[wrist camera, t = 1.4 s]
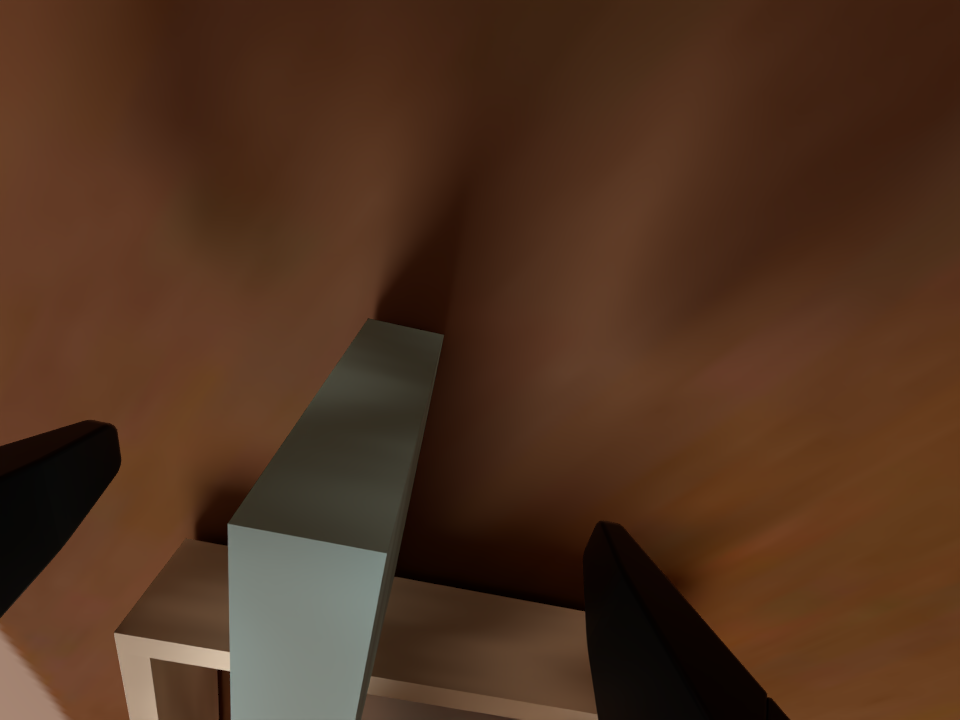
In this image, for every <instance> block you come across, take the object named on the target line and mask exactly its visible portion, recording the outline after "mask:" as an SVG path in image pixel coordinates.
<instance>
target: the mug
mask: <svg viewBox="0 0 960 720" xmlns="http://www.w3.org/2000/svg"><path fill="white" fill-rule="evenodd" d="M361 720H521V719H515V718H509V717H503V716H497V715H491V714H485V713H479V712H473V711H467V710H461V709H455V708H449V707H443V706H436V705H430V704H424V703H418V702H412V701H406V700H400V699H394V698H388V697H382V696H376V695H370V694H367V696H366V700H365V705H364V709H363V713H362V718H361Z"/></svg>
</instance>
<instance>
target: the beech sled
mask: <svg viewBox="0 0 960 720" xmlns="http://www.w3.org/2000/svg"><path fill="white" fill-rule="evenodd" d="M443 338H444V335H442V334H437V333H433V332H428V331H423V330H419V329H414V328H410V327H405V326H401V325H396V324H391V323H387V322H382V321H378V320H373V319H369V318H368V320H367V321H366V323H365V324H364V326H363V327H362V328H361V330H360V331H359V333H358V334H357V336H356V337H355V339H354V340H353V342H352V343H351V345H350V346H349V347H348V349H347V350H346V352H345V353H344V355H343V356H342V358H341V359H340V361H339V362H338V363H337V365H336V366H335V368H334V369H333V371H332V372H331V374H330V375H329V377H328V378H327V380H326V381H325V382H324V384H323V385H322V387H321V388H320V390H319V391H318V393H317V394H316V396H315V397H314V398H313V400H312V401H311V403H310V404H309V406H308V407H307V409H306V410H305V412H304V413H303V415H302V416H301V417H300V419H299V420H298V422H297V423H296V425H295V426H294V428H293V429H292V431H291V432H290V433H289V435H288V436H287V438H286V439H285V441H284V442H283V444H282V445H281V447H280V448H279V450H278V451H277V452H276V454H275V455H274V457H273V458H272V460H271V461H270V463H269V464H268V466H267V467H266V468H265V470H264V471H263V473H262V474H261V476H260V477H259V479H258V480H257V482H256V483H255V485H254V486H253V487H252V489H251V490H250V492H249V493H248V495H247V496H246V498H245V499H244V501H243V502H242V503H241V505H240V506H239V508H238V509H237V511H236V512H235V514H234V515H233V517H232V518H231V520H230V521H229V522H228V546H225V545H219V544H214V543H208V542H203V541H197V540H192V539H185V540H184V541H183V543H182V544H181V545H180V547H179V548H178V549H177V551H176V552H175V553H174V555H173V556H172V557H171V558H170V560H169V561H168V562H167V564H166V565H165V566H164V568H163V569H162V570H161V572H160V573H159V574H158V576H157V577H156V578H155V579H154V581H153V582H152V583H151V585H150V586H149V587H148V589H147V590H146V591H145V593H144V594H143V595H142V596H141V598H140V599H139V600H138V602H137V603H136V604H135V606H134V607H133V608H132V610H131V611H130V612H129V614H128V615H127V616H126V617H125V619H124V620H123V621H122V623H121V624H120V625H119V627H118V628H117V629H116V631H115V632H114V636H115V642H116V647H117V652H118V658H119V663H120V669H121V674H122V679H123V685H124V690H125V696H126V701H127V706H128V712H129V717H130V720H219V706H218V678H217V669H220V670H226V671H230V695H231V720H361V718H362V713H363V709H364V705H365V700H366V696H367V694H370V695H376V696H382V697H388V698H394V699H400V700H406V701H412V702H418V703H424V704H430V705H436V706H443V707H449V708H455V709H461V710H467V711H473V712H479V713H485V714H491V715H497V716H503V717H509V718H515V719H521V720H598V716H597V709H596V703H595V696H594V689H593V683H592V676H591V669H590V663H589V656H588V648H587V638H586V620H585V611H579V610H574V609H568V608H563V607H557V606H552V605H546V604H541V603H536V602H530V601H525V600H519V599H514V598H508V597H503V596H497V595H492V594H486V593H481V592H476V591H470V590H465V589H459V588H454V587H448V586H443V585H437V584H432V583H426V582H421V581H416V580H410V579H405V578H399V577H394V575H395V570H396V566H397V561H398V556H399V551H400V546H401V541H402V537H403V532H404V527H405V522H406V517H407V512H408V508H409V503H410V498H411V493H412V488H413V483H414V478H415V474H416V469H417V464H418V459H419V454H420V449H421V445H422V440H423V435H424V430H425V425H426V420H427V416H428V411H429V406H430V401H431V396H432V391H433V387H434V382H435V377H436V372H437V367H438V362H439V358H440V353H441V348H442V343H443Z"/></svg>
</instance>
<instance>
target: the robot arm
mask: <svg viewBox="0 0 960 720" xmlns="http://www.w3.org/2000/svg"><path fill="white" fill-rule="evenodd" d="M120 465H121V454H120V447H119V439H118V432H117V429H116V427H115V426H114V425H112V424H110V423H105V422H100V421H95V420H86V421H82V422H79V423H75V424H72V425H69V426H66V427H62V428H59V429H56V430H52V431H49V432H46V433H42V434H39V435H36V436H33V437H29V438H26V439H23V440H19V441H16V442H13V443H10V444H6V445H3V446H0V618H1V617H2V616H3V615H4V613H5V612H6V611H7V610H8V609H9V608H10V607H11V606H12V604H13V603H14V602H15V601H16V600H17V599H18V598H19V597H20V595H21V594H22V593H23V592H24V591H25V590H26V589H27V588H28V586H29V585H30V584H31V583H32V582H33V581H34V580H35V579H36V577H37V576H38V575H39V574H40V573H41V572H42V571H43V570H44V568H45V567H46V566H47V565H48V564H49V563H50V562H51V560H52V559H53V558H54V557H55V556H56V555H57V553H58V552H59V551H60V550H61V549H62V547H63V546H64V545H65V543H66V542H67V541H68V540H69V538H70V537H71V536H72V534H73V533H74V532H75V530H76V529H77V528H78V526H79V525H80V524H81V522H82V521H83V519H84V518H85V517H86V515H87V514H88V513H89V511H90V510H91V508H92V507H93V506H94V504H95V503H96V502H97V500H98V499H99V498H100V496H101V495H102V493H103V492H104V491H105V489H106V488H107V487H108V485H109V484H110V483H111V481H112V480H113V478H114V477H115V476H116V474H117V473H118V471H119V468H120ZM583 576H584V598H585V620H586V638H587V648H588V656H589V663H590V669H591V676H592V683H593V689H594V696H595V703H596V709H597V716H598V720H790V719H789V718H788V717H787V716H786V714H785V713H784V712H783V711H782V710H781V709H780V707H779V706H778V705H777V704H776V703H775V702H774V701H773V699H772V698H769V697H768V698H767V693H766V692H765V690H764V689H763V688H762V687H761V686H760V685H759V683H758V682H757V681H756V680H755V679H754V678H753V676H752V675H751V674H750V673H749V672H748V671H747V670H746V668H745V667H744V666H743V665H742V664H741V663H740V661H739V660H738V659H737V658H736V657H735V656H734V655H733V653H732V652H731V651H730V650H729V649H728V648H727V646H726V645H725V644H724V643H723V642H722V641H721V640H720V638H719V637H718V636H717V635H716V634H715V633H714V631H713V630H712V629H711V628H710V627H709V626H708V624H707V623H706V622H705V621H704V620H703V619H702V618H701V616H700V615H699V614H698V613H697V612H696V611H695V609H694V608H693V607H692V606H691V605H690V604H689V603H688V601H687V600H686V599H685V598H684V597H683V596H682V594H681V593H680V592H679V591H678V590H677V589H676V588H675V586H674V585H673V584H672V583H671V582H670V581H669V579H668V578H667V577H666V576H665V575H664V574H663V573H662V571H661V570H660V569H659V568H658V567H657V566H656V564H655V563H654V562H653V561H652V560H651V559H650V557H649V556H648V555H647V554H646V553H645V552H644V551H643V549H642V548H641V547H640V546H639V545H638V544H637V542H636V541H635V540H634V539H633V538H632V537H631V536H630V534H629V533H628V532H627V531H626V530H625V529H624V527H622V526H621V525H620V524H618V523H613V522H608V521H599V522H598V523H597V524H596V526H595V528H594V530H593V532H592V535H591V537H590V539H589V541H588V544H587V546H586V548H585V551H584V555H583Z"/></svg>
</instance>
